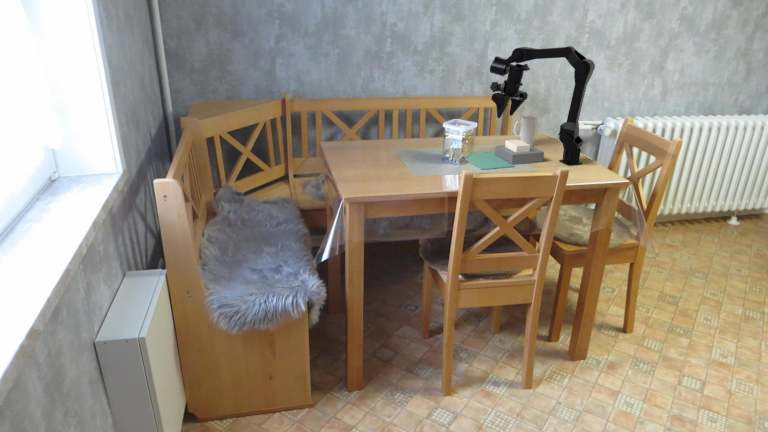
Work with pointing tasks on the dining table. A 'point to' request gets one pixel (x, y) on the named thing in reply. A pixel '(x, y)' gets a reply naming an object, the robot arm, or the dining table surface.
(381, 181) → the dining table surface
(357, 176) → the dining table surface
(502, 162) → the mat
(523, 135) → the mug
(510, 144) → the tile
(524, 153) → the grey square slab
